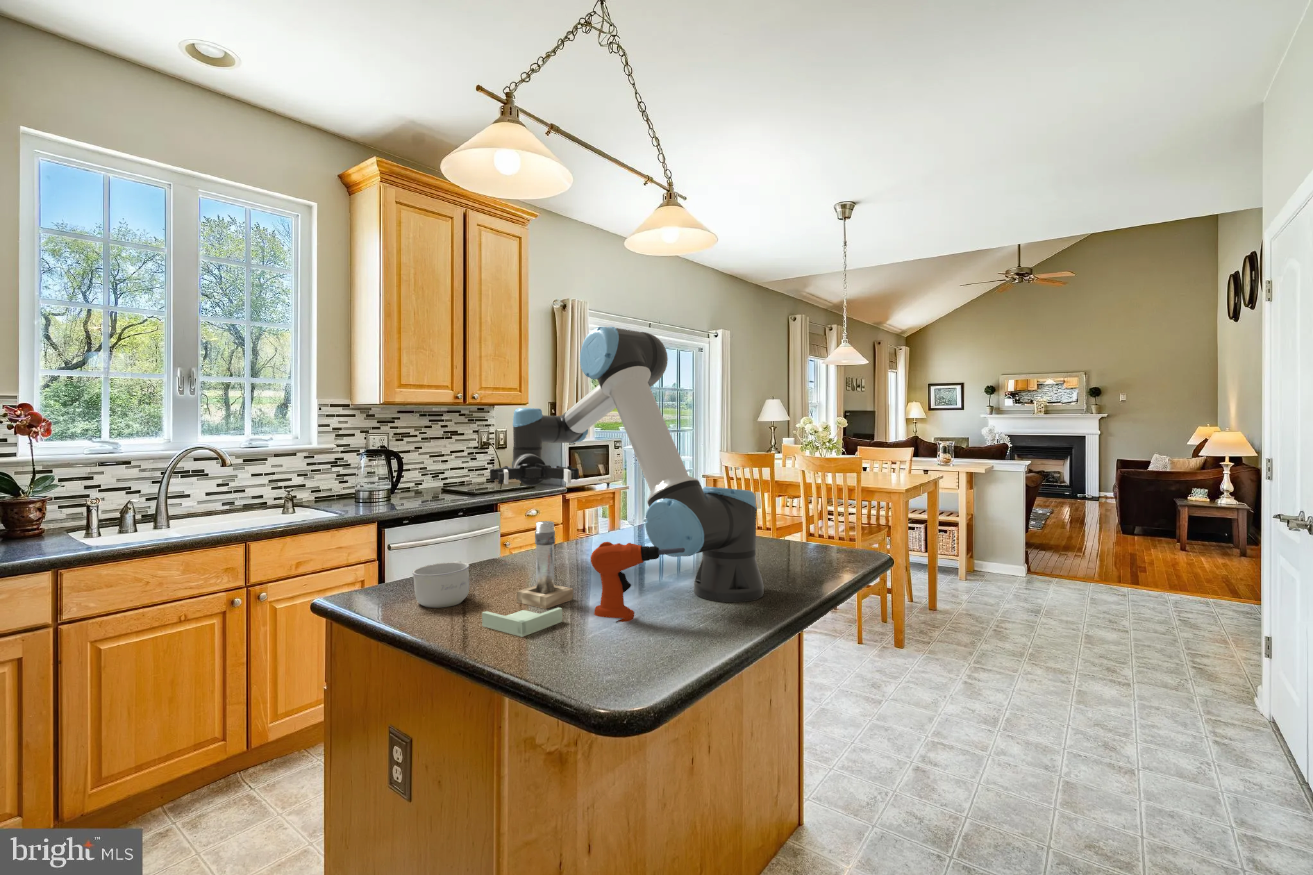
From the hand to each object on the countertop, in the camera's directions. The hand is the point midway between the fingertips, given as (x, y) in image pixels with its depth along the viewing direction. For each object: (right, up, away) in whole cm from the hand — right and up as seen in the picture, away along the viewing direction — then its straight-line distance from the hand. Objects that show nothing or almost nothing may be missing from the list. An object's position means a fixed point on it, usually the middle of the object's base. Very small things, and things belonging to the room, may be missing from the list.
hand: (538, 477), depth 136 cm
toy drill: (+22, -26, -19) cm, 39 cm away
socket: (+3, -25, -9) cm, 27 cm away
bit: (+3, -24, -9) cm, 26 cm away
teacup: (-17, -25, -9) cm, 32 cm away
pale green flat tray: (+2, -26, -24) cm, 35 cm away
